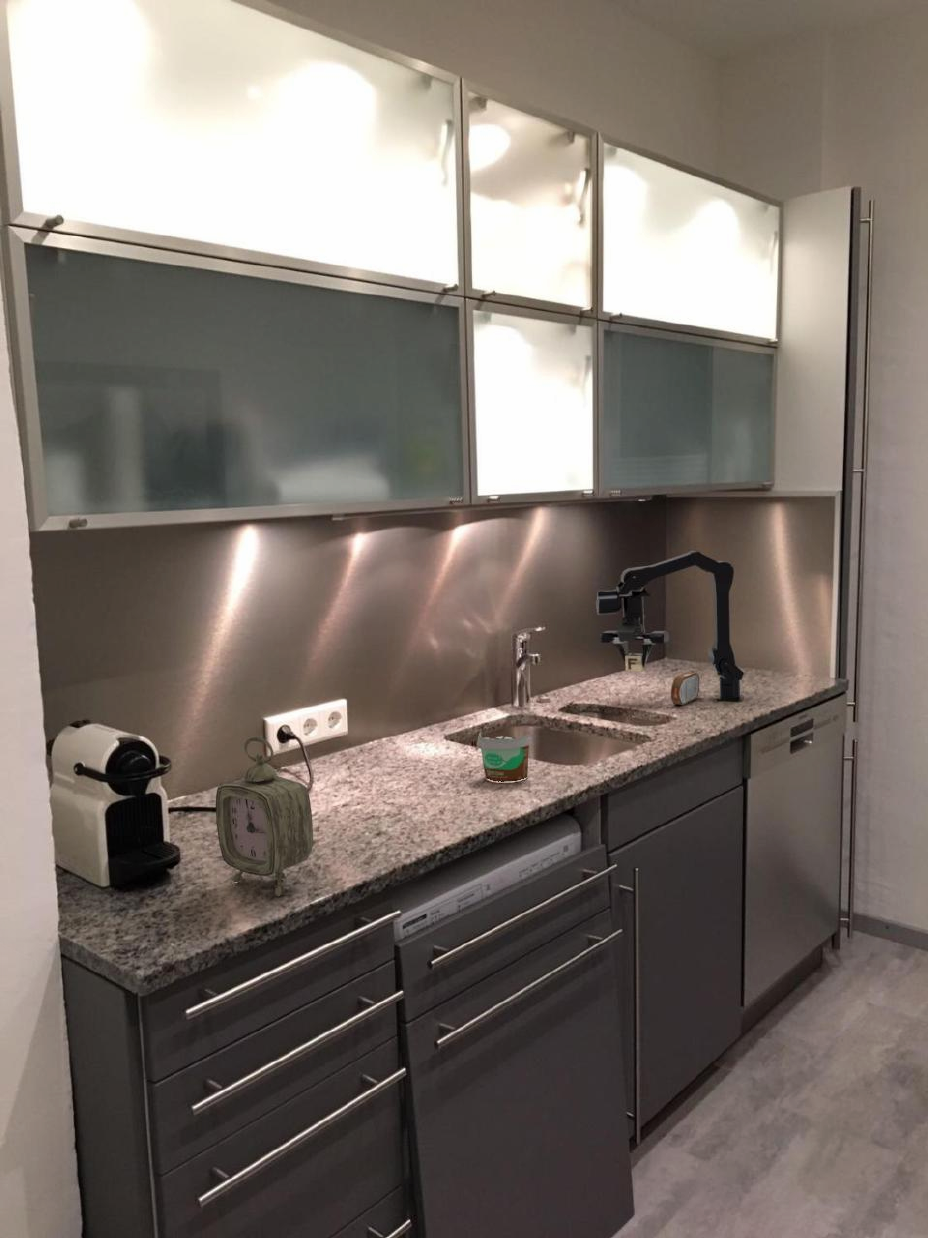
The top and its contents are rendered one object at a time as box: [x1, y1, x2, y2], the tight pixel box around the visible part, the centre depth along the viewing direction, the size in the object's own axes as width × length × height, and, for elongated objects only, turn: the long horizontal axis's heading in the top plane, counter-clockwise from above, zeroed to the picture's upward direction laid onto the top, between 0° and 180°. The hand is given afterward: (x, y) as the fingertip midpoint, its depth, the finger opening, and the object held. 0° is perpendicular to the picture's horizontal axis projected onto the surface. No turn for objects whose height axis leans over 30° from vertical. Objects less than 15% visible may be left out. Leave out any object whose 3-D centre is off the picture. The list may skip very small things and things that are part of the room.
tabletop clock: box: [215, 736, 314, 896], centre depth 166 cm, size 14×9×25 cm, turn 51°
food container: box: [476, 732, 533, 782], centre depth 220 cm, size 12×6×10 cm, turn 68°
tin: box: [670, 671, 700, 706], centre depth 290 cm, size 15×3×8 cm, turn 144°
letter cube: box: [624, 652, 647, 673], centre depth 290 cm, size 5×4×5 cm
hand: (635, 666), depth 290 cm, fingers closed on letter cube, 4 cm apart
